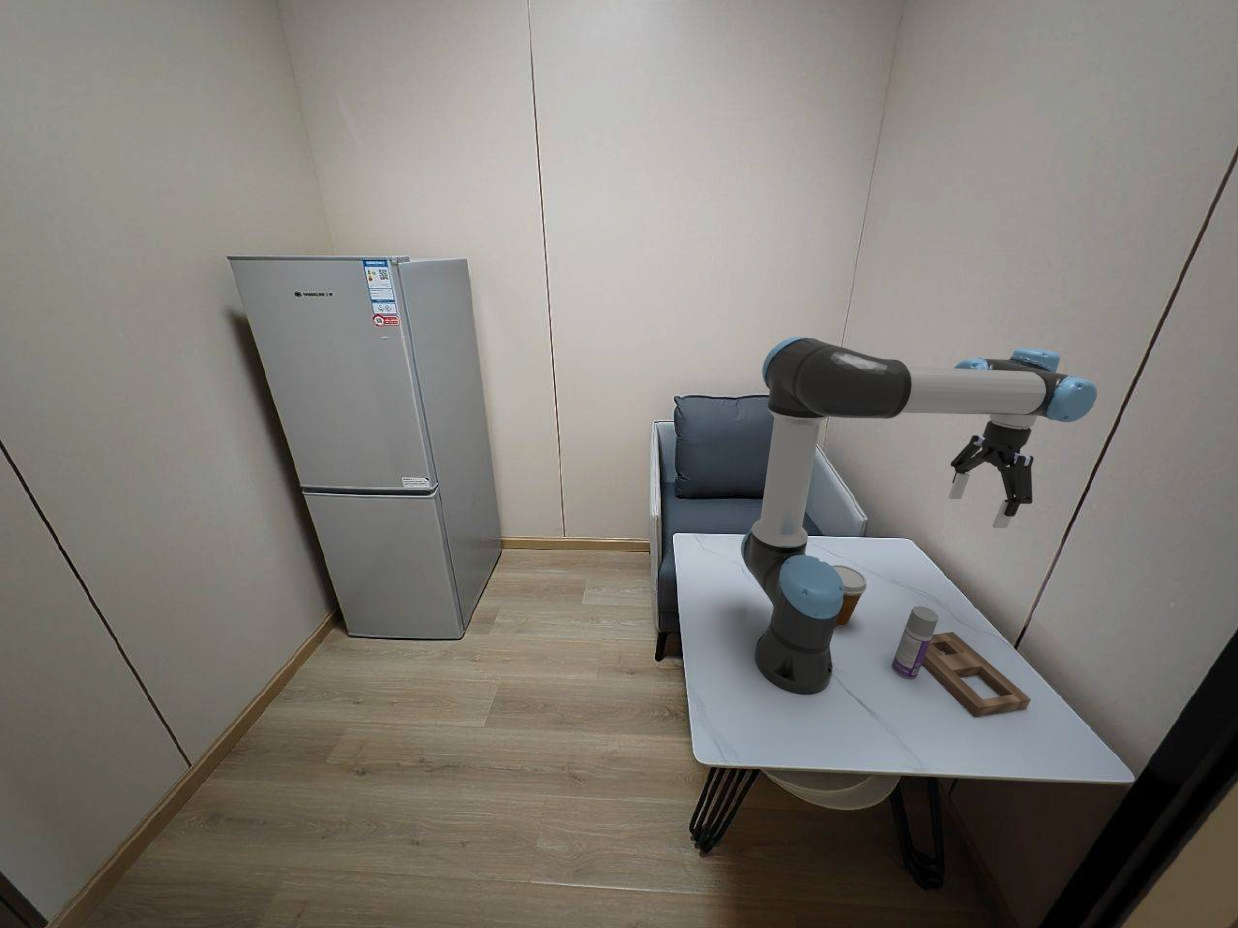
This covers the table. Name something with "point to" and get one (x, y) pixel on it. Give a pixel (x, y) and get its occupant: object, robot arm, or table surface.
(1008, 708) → the socket board
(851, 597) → the disposable coffee cup
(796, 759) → the table surface
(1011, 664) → the table surface
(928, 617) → the container
